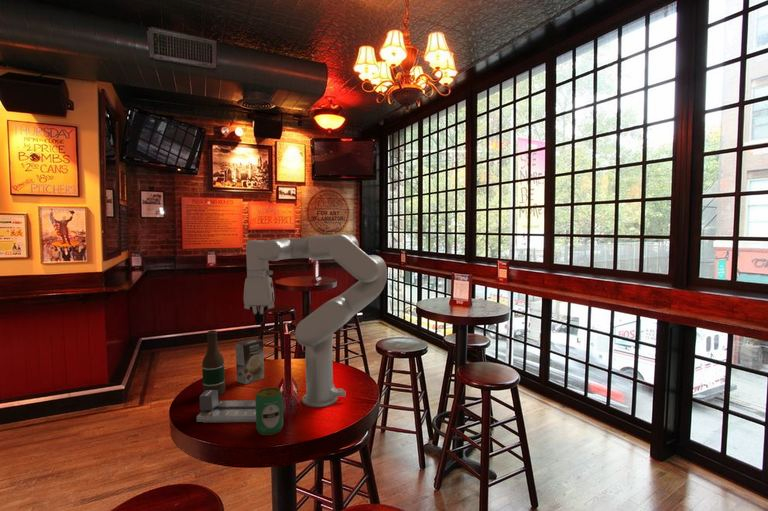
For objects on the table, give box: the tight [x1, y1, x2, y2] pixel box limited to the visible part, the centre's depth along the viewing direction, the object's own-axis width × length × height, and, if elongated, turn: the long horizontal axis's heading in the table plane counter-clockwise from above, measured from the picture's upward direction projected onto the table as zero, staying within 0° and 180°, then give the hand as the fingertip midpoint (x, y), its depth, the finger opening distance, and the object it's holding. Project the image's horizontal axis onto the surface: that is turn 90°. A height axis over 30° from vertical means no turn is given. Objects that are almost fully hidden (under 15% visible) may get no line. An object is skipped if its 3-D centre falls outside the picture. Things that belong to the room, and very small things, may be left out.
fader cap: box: [199, 390, 219, 411], centre depth 137 cm, size 4×5×5 cm
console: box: [196, 399, 256, 423], centre depth 137 cm, size 24×12×4 cm, turn 90°
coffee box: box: [235, 338, 265, 385], centre depth 167 cm, size 9×6×16 cm
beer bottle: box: [201, 329, 226, 397], centre depth 153 cm, size 8×8×24 cm
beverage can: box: [254, 386, 284, 436], centre depth 125 cm, size 8×8×12 cm
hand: (259, 324), depth 149 cm, fingers closed
